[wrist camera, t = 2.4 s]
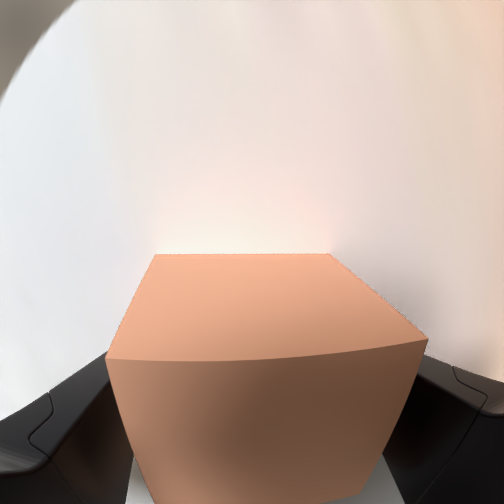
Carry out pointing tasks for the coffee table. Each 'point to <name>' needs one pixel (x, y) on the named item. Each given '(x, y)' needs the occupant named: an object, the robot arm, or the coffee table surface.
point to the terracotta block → (259, 378)
